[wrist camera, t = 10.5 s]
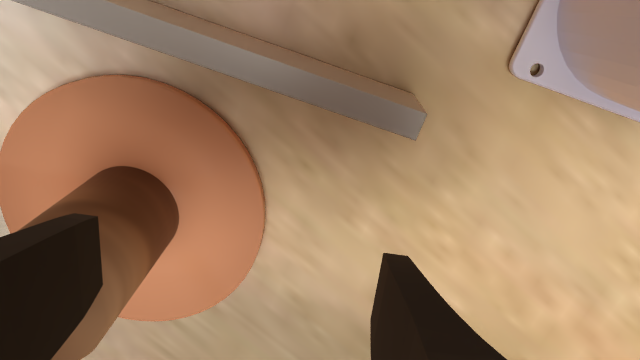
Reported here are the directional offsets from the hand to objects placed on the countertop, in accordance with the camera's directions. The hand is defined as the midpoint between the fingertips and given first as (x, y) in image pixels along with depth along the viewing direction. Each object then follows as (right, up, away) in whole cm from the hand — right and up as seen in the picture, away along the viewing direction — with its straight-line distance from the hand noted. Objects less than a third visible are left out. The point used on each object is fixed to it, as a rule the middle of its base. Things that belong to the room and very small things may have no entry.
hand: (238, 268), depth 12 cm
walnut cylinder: (-6, +1, +9) cm, 11 cm away
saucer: (-6, +1, +10) cm, 12 cm away
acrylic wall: (-4, +9, +7) cm, 12 cm away
